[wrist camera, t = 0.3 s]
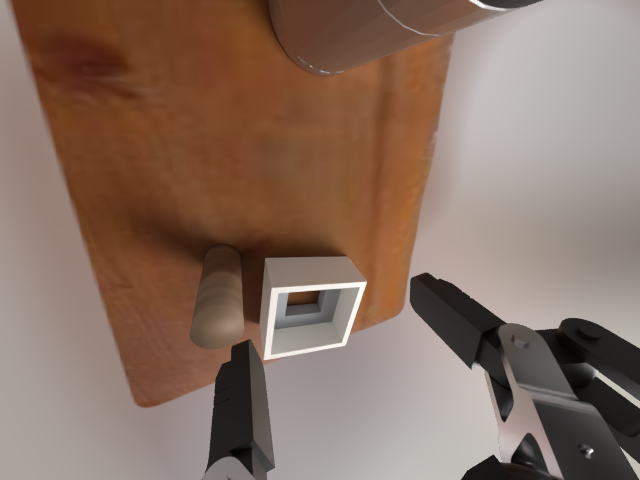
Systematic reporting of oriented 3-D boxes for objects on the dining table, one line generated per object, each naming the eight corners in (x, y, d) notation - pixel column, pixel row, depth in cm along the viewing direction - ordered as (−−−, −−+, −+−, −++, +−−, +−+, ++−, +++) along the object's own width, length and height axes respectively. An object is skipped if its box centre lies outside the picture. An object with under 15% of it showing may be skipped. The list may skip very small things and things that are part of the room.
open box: (265, 257, 29) (271, 288, 24) (347, 256, 33) (367, 281, 29) (259, 324, 34) (263, 360, 29) (331, 315, 39) (345, 345, 34)
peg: (203, 244, 26) (188, 316, 17) (241, 244, 27) (244, 311, 18) (205, 272, 27) (191, 352, 18) (240, 271, 29) (243, 344, 20)
